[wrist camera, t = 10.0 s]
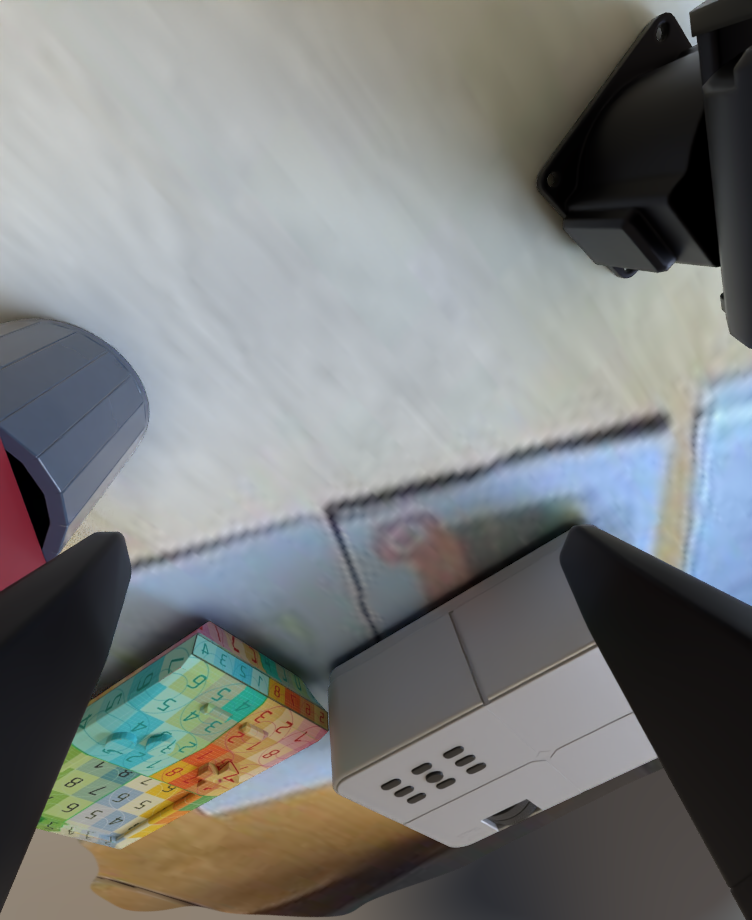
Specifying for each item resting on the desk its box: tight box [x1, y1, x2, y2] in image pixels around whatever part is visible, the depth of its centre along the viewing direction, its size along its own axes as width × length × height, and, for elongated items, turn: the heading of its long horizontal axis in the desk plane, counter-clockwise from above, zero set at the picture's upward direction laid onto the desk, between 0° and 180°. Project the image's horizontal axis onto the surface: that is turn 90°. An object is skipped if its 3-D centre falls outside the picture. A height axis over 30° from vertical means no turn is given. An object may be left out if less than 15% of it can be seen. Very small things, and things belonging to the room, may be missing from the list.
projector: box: [328, 524, 658, 847], centre depth 29 cm, size 17×22×8 cm
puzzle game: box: [36, 621, 329, 849], centre depth 28 cm, size 12×5×20 cm
